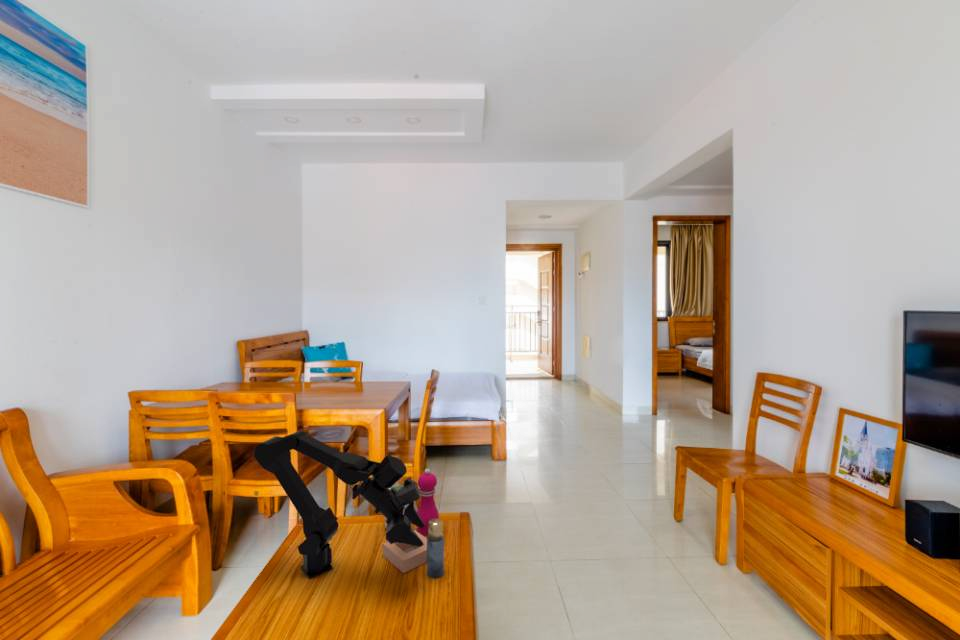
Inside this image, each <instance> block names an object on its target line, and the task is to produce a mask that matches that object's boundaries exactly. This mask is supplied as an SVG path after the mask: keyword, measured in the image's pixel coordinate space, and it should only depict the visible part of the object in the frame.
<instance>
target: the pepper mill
mask: <svg viewBox="0 0 960 640" xmlns="http://www.w3.org/2000/svg"><path fill="white" fill-rule="evenodd" d="M437 483H438V479H437V476H436V475H435V474H434V473H432V472H431V469H429V468H425V470H424V473H422V474H421V475H419V477H418V479H417V484H418V485H417V486H418V488H419V490H420V505H419V506H418V509H417V510H416V511H417V513H418V515H419V516H420V518H421V520H422V521H423V523H424V527H423V528H420V527H418V526H417V532H418V533H420V534H421V535H423V536H429V521H430V520H432V519H440V515H439V511H438V508H437V506H436V503H435V498H434V497H435V494H436V486H437Z"/></svg>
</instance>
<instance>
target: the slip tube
mask: <svg viewBox="0 0 960 640" xmlns="http://www.w3.org/2000/svg"><path fill="white" fill-rule="evenodd" d="M426 538H427V562H426V576H427V577H428V578H431V579H438V578H441V577H443V576H444V573H445V538H444V536H443V521H442V519H440V518H439V519H432V520H430V521H429V535H427V537H426Z"/></svg>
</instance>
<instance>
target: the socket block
mask: <svg viewBox="0 0 960 640" xmlns="http://www.w3.org/2000/svg"><path fill="white" fill-rule="evenodd" d="M412 530H413V529H412ZM413 531H414V532H415V533H416V534H417V536H418V537H419V538H420V539H421V540H422V542H423V545H422V546H421V547H419V546H414V545H410V544H405V543H398V542H396V543H393V544H390V543H389V542H388V541H387V540H386V541H385V542H383V543H382V556H383V557H384V558H385V559H386V560H388V561H389V562H390V563H391V564H392V565H393V566H395V567H396V568H397V569H398V570H399V571H400V572H401V573H403V574H405V573H407V572H409V571H411V570H413V569H415V568H417V567H420V566H421V565H423V564H427V537H426V536H425V535H421V534H420V533H418V530H416V529H415V530H413Z"/></svg>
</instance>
